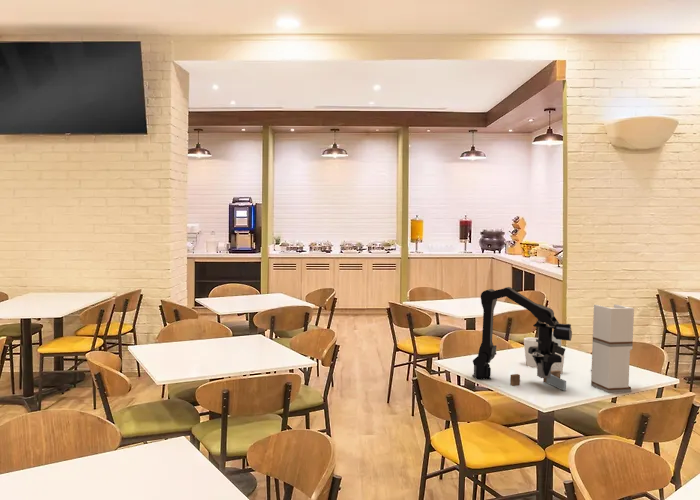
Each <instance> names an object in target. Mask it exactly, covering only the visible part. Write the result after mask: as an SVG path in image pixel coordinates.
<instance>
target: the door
mask: <svg viewBox="0 0 700 500" xmlns="http://www.w3.org/2000/svg"><path fill="white" fill-rule="evenodd" d="M546 384H549V385H551V386H553V387H555V388H557V389H559V390H562V391H563V392H565V391H567V380H565V379H563V378H561V377H560V378H558V377H556V376H554V375H552V374H551V378H547V383H546Z"/></svg>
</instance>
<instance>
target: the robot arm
mask: <svg viewBox="0 0 700 500" xmlns="http://www.w3.org/2000/svg"><path fill="white" fill-rule="evenodd" d="M501 298H508V299H509V300H511V301H513V302H515V303H516V304H518V305H519V306H521V307H523V308H524V309H526V310H527V311H529V312H530V313H531V314H532V315H533V317H535V318H536V323H534V324H533V327H535V328H537V329H538V330H537V338H538V339H536V342H538V346H532V347H529V349H528V353H530V354H533V353H534V355H532V357H533V358H534V360H535V362H536V365H537V366H538V363H542V367H543V371H544V374H545V376H548V374H549V371H550V368H551V366H552V364H554V363H561V362H562V357H561V356H560V355H557V354H555V353H558V354H561V355H562V356H563V355H564V356H565V352H566V349H567V348H565V347H563V346H561V347H560V346H558V343H556V342H554V341H552V332H553V336H554V337H555V338H556V339H559V340H561V341H568V342H569V341H570V342H571V341H572V337H573V332H572V324H570V323H560V322H559V320H558V319H557V318H556V316H555V312H554V310H553V309H552V308H550V307H547V306H545V305H542V304H539V303H537V302H534V301H533V300H531V299H529V298H528V297H526V296H524V295H523V294H521V292H519V291H516V290H515V289H513V288H512V287H510V286H506V287H503V288H501V289H500V288H499V289H493V288H490V289H487V290H483V291H482V292H481V293H480V304H481V307H482V309H483V310H482V311H483V313H482V315H483V316H482V331H481V332H482V334H481V336H482V338H481V343H480V345H479V346H480V347H479V349H478V353H477V356H476V357H475V358H474V359H473V360H472V364H473V374H472V377H473V378H474V379H476V380H491V379H492V378H491V374H492V371H491V370H492V368H491V364H490V363H491V361H492V360H493V359H494V358H495V356H496V355H497V348H498V347H497V345H494V342H493V333H494V310H495V307H496V306H497V305H496V304H497V302H498V299H501Z"/></svg>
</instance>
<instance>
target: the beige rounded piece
mask: <svg viewBox="0 0 700 500" xmlns="http://www.w3.org/2000/svg"><path fill="white" fill-rule="evenodd" d="M555 354H557V355H560V356H561V357H562V362H561V363H554V364H552V366H551V371H555V370H559V371H561V374H560V375H563V373H564V372H563V369H564V365H565V364H564V363H565V362H564V361H565V354H564V355H563V356H562V355H561V354H558V353H555Z"/></svg>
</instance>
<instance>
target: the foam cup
mask: <svg viewBox="0 0 700 500" xmlns="http://www.w3.org/2000/svg"><path fill="white" fill-rule="evenodd" d="M536 339H538V337H531V336H530V337H524V338H523V344H524V345H523V347H524V356H525V365H526V366H527V367H530V368H537V365H536V362H535V360H534V358H533V357H532V355H534V353H533V354H530V353H528V349H529V347H532V346H538V342H536Z"/></svg>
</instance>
